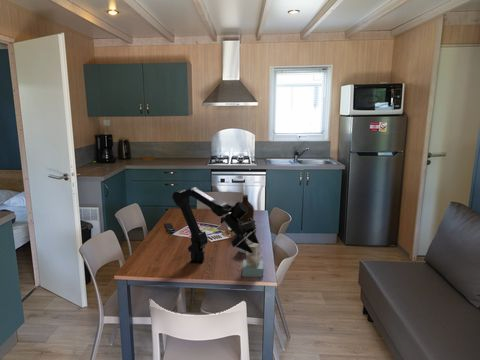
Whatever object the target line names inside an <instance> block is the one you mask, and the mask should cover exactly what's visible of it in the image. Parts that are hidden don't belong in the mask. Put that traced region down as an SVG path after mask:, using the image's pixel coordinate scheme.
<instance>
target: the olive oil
mask: <svg viewBox="0 0 480 360" xmlns="http://www.w3.org/2000/svg"><path fill="white" fill-rule="evenodd" d="M240 203H243V204H244V205H246V206H247V207H248V212H247V213H246V214H245V215H244V216H243V217H242V218H241V219H238V220H239V221H240V222H241V221H243V222H244V223H246V222H248V219H250V218H252V219H254V214H255V210H254V206H253V205H252V203H251V202H250V201H249V196H248V194H243V195H242V201H240Z"/></svg>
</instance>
